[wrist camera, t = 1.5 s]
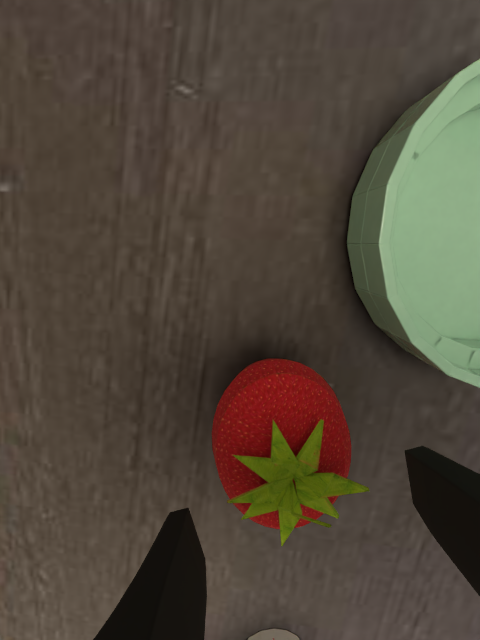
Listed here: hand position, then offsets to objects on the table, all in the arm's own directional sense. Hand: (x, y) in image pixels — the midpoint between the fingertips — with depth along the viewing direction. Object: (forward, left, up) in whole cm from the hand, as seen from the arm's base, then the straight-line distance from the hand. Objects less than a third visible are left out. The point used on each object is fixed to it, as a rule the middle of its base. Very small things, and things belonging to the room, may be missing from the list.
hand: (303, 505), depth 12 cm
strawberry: (0, 0, -10) cm, 10 cm away
